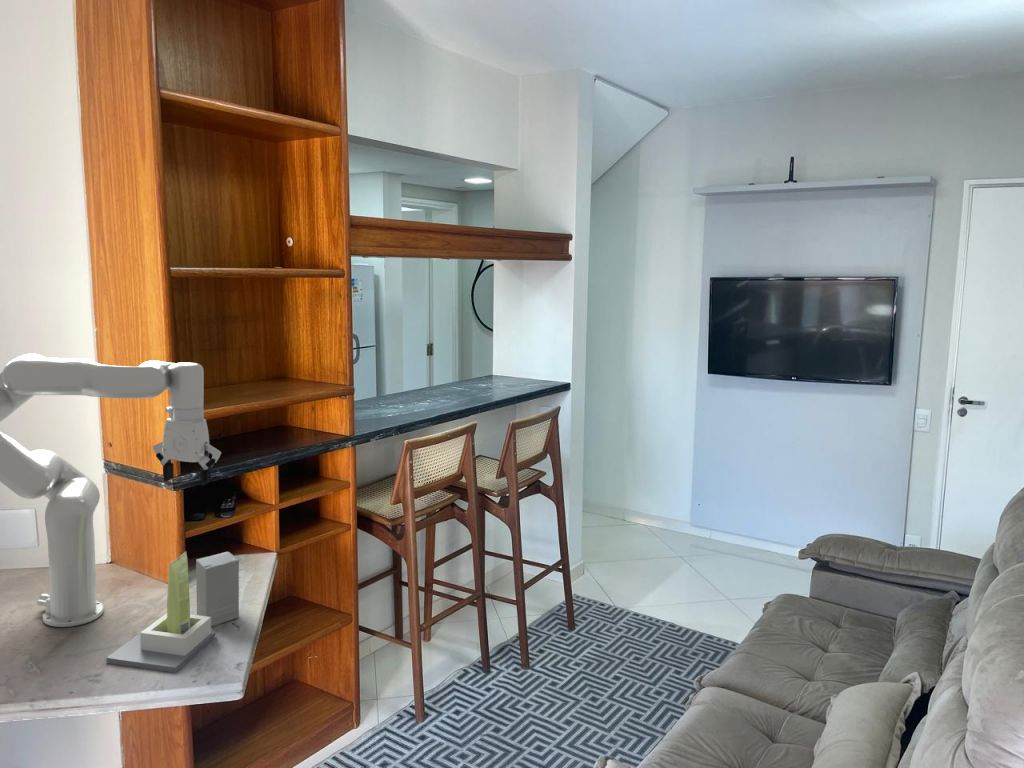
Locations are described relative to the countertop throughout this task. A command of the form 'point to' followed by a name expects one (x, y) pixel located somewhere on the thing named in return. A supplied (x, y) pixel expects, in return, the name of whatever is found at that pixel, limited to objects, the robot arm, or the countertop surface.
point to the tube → (178, 596)
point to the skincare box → (218, 587)
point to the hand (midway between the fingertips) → (186, 481)
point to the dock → (164, 645)
